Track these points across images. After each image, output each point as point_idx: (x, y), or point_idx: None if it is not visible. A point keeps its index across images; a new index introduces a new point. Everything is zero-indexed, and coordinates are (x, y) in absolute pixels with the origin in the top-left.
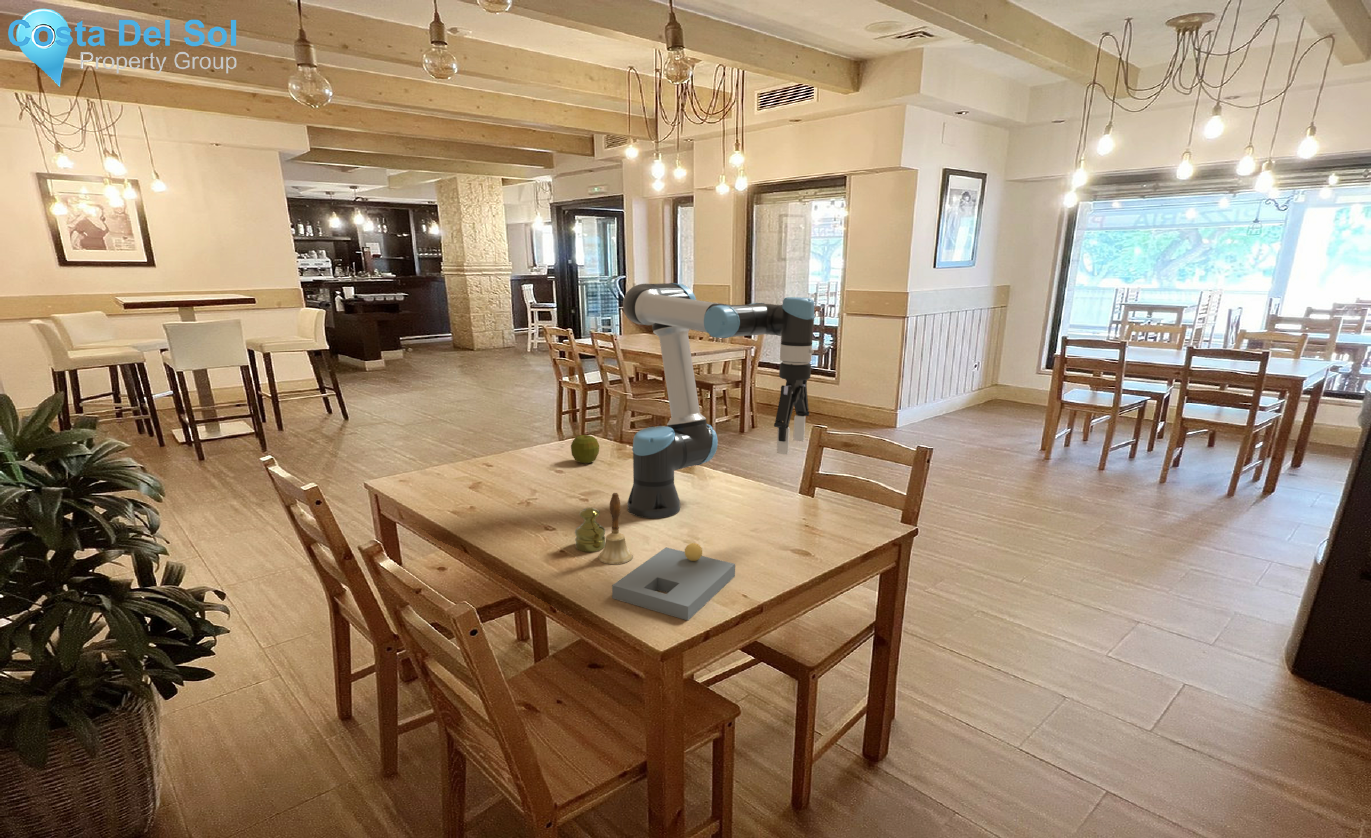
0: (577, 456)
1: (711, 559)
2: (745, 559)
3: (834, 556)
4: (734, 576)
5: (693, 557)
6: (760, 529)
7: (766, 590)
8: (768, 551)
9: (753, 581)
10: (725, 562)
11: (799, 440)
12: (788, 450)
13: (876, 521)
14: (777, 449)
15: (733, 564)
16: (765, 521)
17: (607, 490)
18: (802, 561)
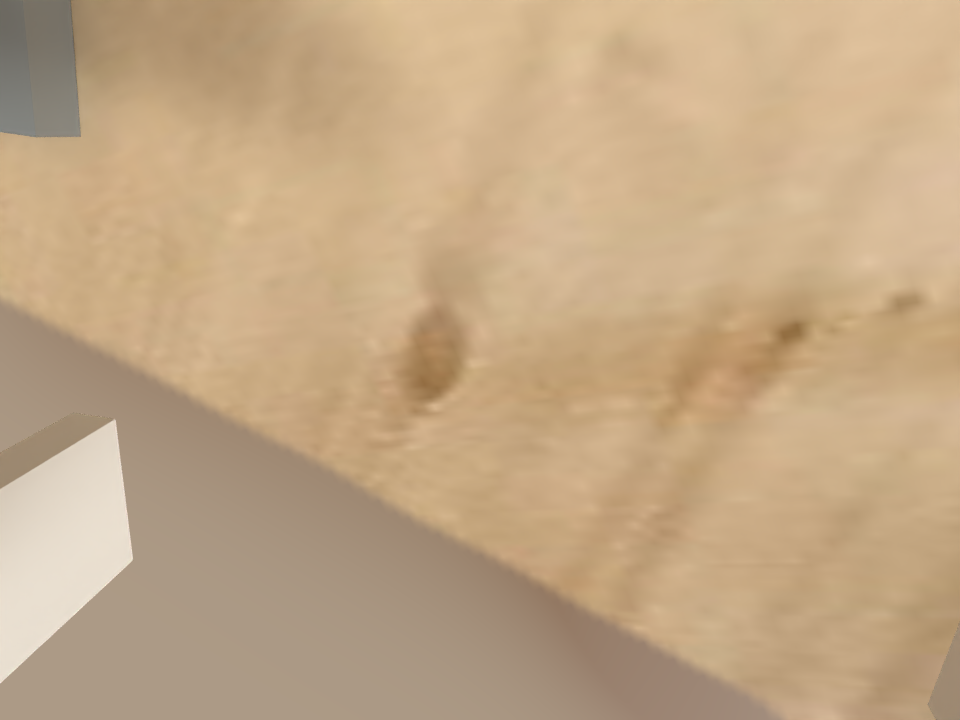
0: None
1: (10, 5)
2: (248, 129)
3: (450, 490)
4: (76, 135)
5: None
6: (651, 90)
7: (50, 289)
8: (379, 211)
9: (84, 224)
10: (21, 87)
11: (957, 657)
12: (97, 591)
13: None
14: (28, 449)
15: (26, 131)
16: (797, 82)
17: None
18: (345, 375)
